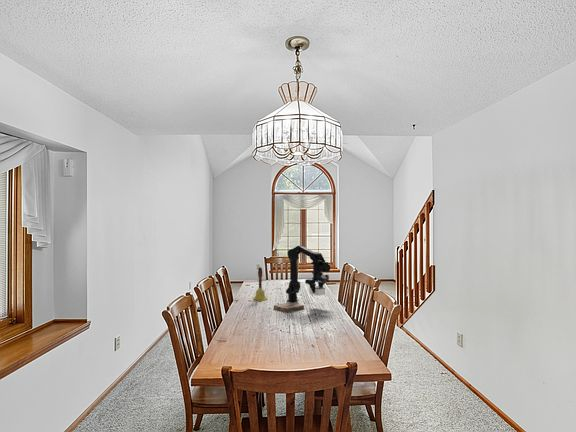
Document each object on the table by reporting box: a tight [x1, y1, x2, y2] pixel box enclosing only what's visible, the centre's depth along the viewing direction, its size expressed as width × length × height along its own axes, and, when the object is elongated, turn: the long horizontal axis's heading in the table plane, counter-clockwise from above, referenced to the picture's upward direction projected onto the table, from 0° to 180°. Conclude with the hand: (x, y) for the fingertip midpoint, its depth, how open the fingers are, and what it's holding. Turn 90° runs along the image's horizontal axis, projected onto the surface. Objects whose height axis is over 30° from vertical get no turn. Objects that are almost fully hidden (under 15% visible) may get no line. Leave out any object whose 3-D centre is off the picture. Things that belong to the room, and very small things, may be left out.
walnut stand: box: [273, 301, 305, 313], centre depth 274 cm, size 14×16×2 cm
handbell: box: [252, 266, 269, 302], centre depth 307 cm, size 12×12×25 cm
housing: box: [309, 285, 326, 297], centre depth 280 cm, size 10×6×5 cm, turn 35°
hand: (317, 292), depth 280 cm, fingers closed on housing, 6 cm apart
